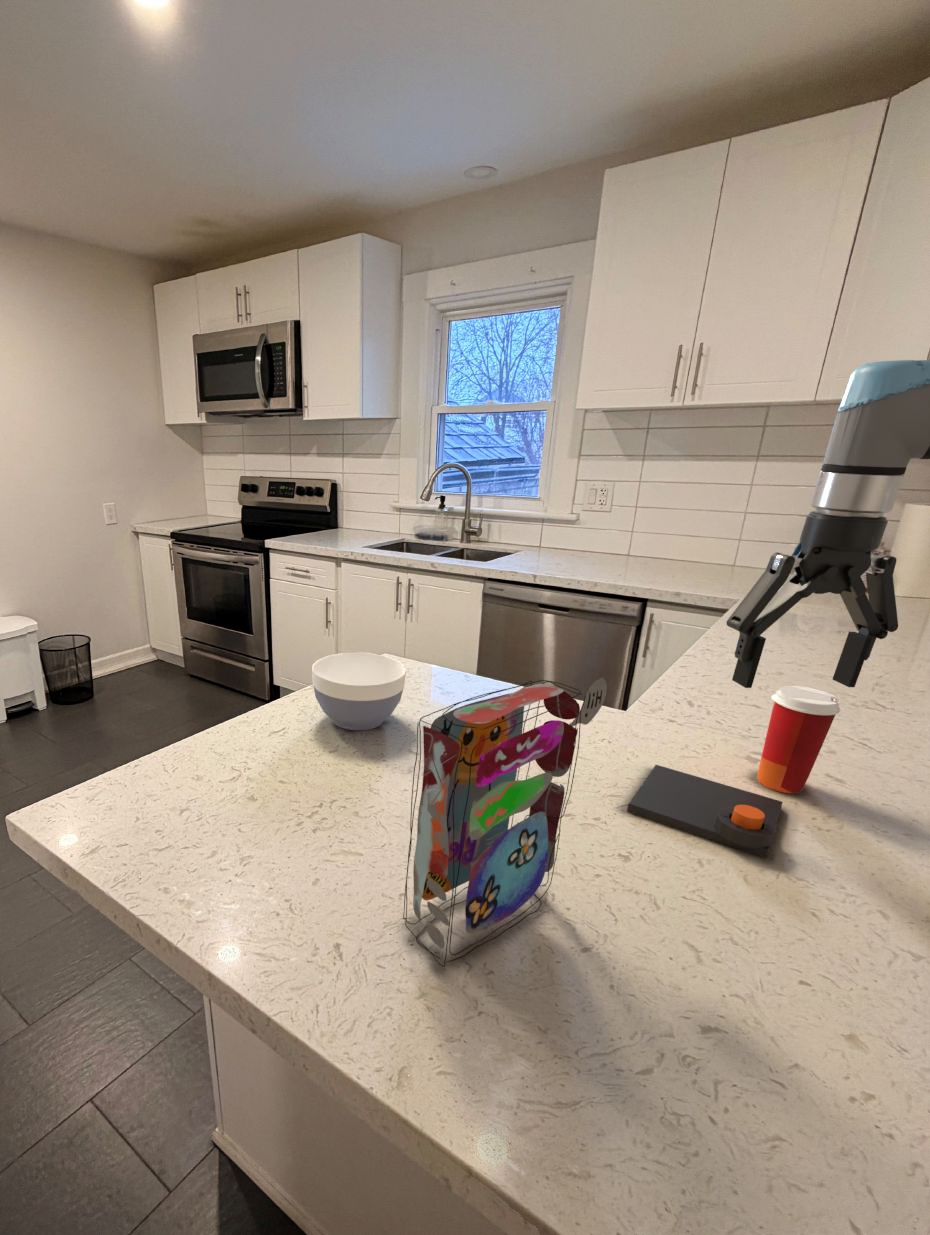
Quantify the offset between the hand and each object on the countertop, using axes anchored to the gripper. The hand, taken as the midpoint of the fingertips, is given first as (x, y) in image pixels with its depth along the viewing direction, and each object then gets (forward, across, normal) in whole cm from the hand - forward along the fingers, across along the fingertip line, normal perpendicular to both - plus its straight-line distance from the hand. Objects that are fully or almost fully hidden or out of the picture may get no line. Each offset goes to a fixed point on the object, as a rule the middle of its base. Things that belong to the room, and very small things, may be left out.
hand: (792, 683), depth 82 cm
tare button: (+15, +8, +9) cm, 19 cm away
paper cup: (+18, -7, -4) cm, 19 cm away
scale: (+18, +9, +2) cm, 20 cm away
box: (+18, +41, +19) cm, 48 cm away
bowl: (+18, +53, -28) cm, 62 cm away
